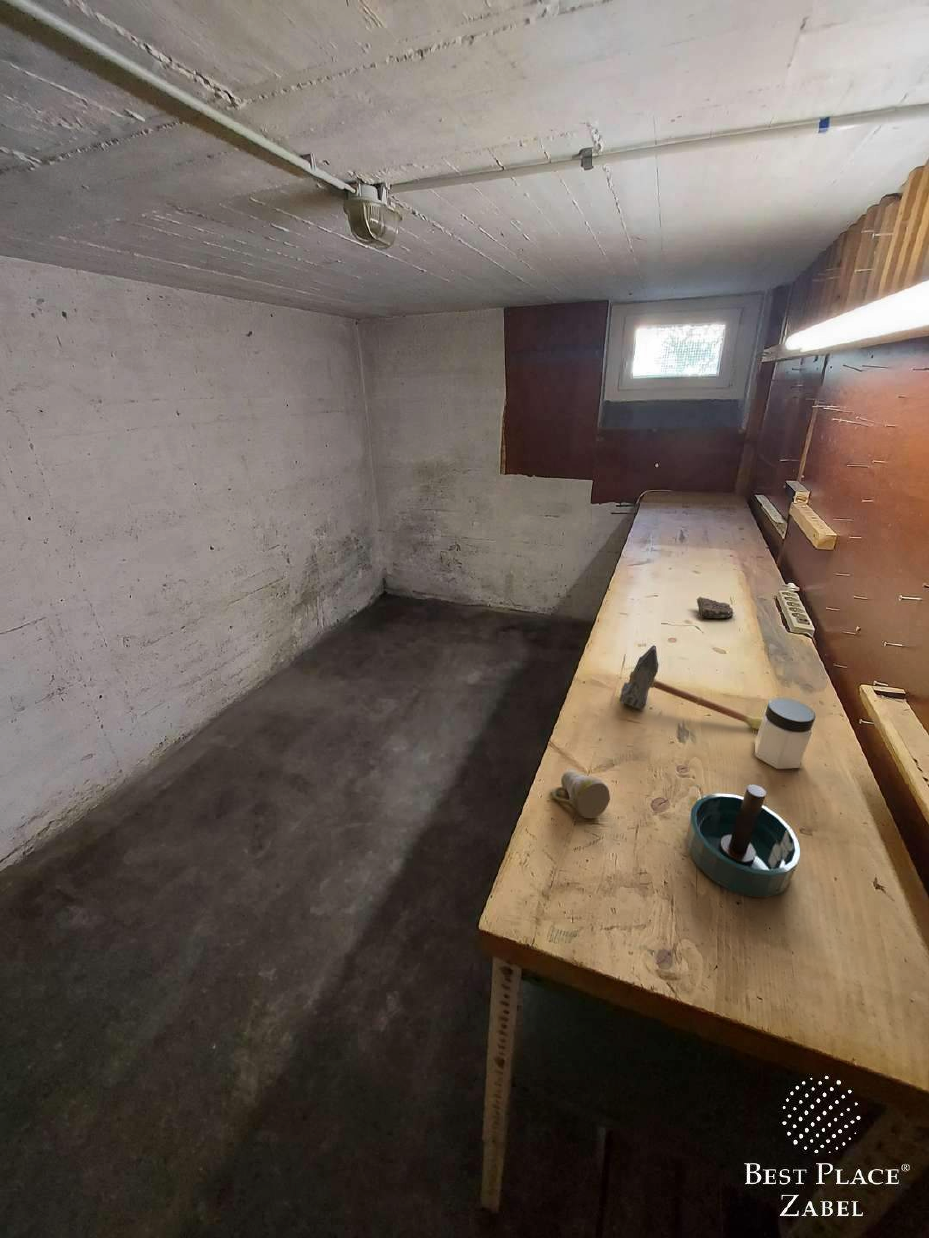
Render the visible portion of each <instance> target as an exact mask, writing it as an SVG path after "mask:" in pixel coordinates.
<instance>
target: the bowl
mask: <svg viewBox="0 0 929 1238" xmlns="http://www.w3.org/2000/svg"><path fill="white" fill-rule="evenodd" d="M743 799H744V796H740V795H738V794H733V793H722V792H721V793H720V792H718V793H712V794H707V795H705V796H703V797H701V798H699V799H697V800H696V802H695V803H694V804H693V806H692V808H691V809H690V813H689V816H688V821H687V825H686V829H685V837H684V841H685V845H686V848H687V851H688V855H689V856H690V857H691V859H692V861H693V862H694V864H696V867H698V868H699V869H700V870H701V871H702V872H703V873H704V874H705V875H706V876H707V877H708V878H709V879H711V880H712V881H714V882H715V883H717V884H718V885H721V886H722V887H724V888H725V889H727V890H729V891H732V892H734V893H738V894H741V895H743V896H747V897H755V898H767V897H772V896H778V895H779V894H781V893H782V892H783V891H785V890H786V889H787V888H788V887H789V885H790V883H791V880H792V878H793V875H794V873H795V871H796V868H797V865H798V863H799V861H800V858H801V855H802V852H801V846H800V841H799V839H798V838H797V836H796V834H795V832H794V830H793V828H792V827H791V826H789V825H788V823H787V822H786V821H785V820H784V819H783V818H782V817H781V816H780V815H779V814H777V813H776V812H774V811H773V810H772V809H770V808H769V807H767V806H766V805H764V804H763V805H762V808H761V811H760V814H759V817H758V820H757V823H756V826H755V829H754V832H753V835H752V838H751V841H750V844H751V845H752V846H753V847H754V849H755V852H756V856H755V859H754V862H753V863H752V864H751V865H749V866H744V865H741V864H738V863H735V862H734V861H732V860H730V859H728V858H727V857H725V856H723V855H722V854H721V852H720V849H719V844H720V841H721V839H722V837H724V836H725V835H732V834H733V830H734V827H735V824H736V821H737V818H738V815H739V811H740V808H741V805H742V802H743Z"/></svg>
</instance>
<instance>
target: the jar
mask: <svg viewBox="0 0 929 1238" xmlns="http://www.w3.org/2000/svg"><path fill="white" fill-rule="evenodd" d="M761 719H762V722H761V725H760V728H759V730H758V732H757V736H756V737H755V742H754V756H755V757H756V758H758V759H759V760H761V761H762V762H764V763H766V764H768V765H770V766H771V767H772V768H775V769H776V770H780V769H781V770H783V769H799V768H800V766H801V763H802V760H803V758H804V756H805V753H806V749H807V747H808V744H809V741H810V739H811V736H812V733H813V730H812V728H813V726H814V722H815V720H816V712H815V711H814V710H813V709H812V708H811V707H809V706H808V705H806V704H805V703H803V702H801V701H798V700H795V699H791V698H786V697H775V698H772V699H770V700H769V701H768V703H767V706H766V708H765V709H764V713H763V716H762V718H761Z"/></svg>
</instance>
